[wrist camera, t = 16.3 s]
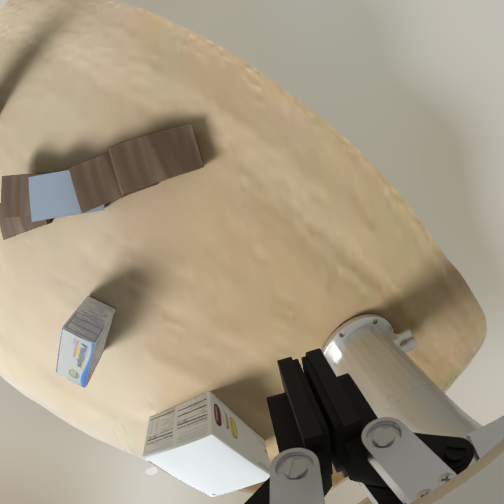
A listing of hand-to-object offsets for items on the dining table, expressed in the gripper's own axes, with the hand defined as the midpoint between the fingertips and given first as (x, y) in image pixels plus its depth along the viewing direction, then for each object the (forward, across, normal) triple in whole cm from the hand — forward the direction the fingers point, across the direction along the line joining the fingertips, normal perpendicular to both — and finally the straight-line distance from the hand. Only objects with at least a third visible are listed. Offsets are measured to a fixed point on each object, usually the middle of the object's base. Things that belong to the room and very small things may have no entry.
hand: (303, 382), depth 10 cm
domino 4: (+23, +8, -12) cm, 27 cm away
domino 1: (+23, +20, -12) cm, 32 cm away
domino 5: (+23, +3, -12) cm, 27 cm away
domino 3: (+23, +14, -11) cm, 29 cm away
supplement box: (+26, +14, +30) cm, 42 cm away
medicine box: (+24, +23, +5) cm, 34 cm away
